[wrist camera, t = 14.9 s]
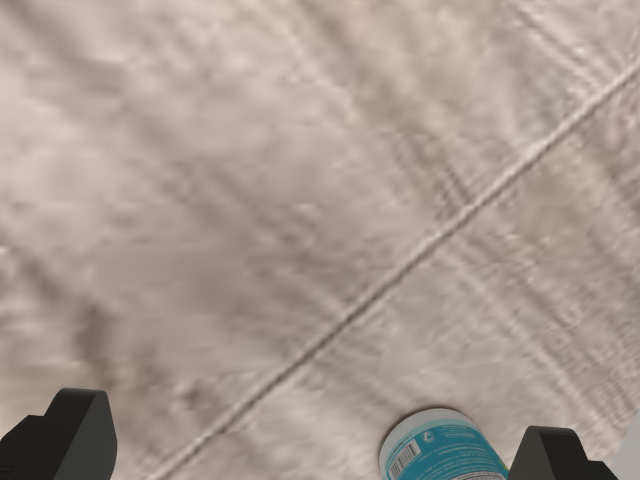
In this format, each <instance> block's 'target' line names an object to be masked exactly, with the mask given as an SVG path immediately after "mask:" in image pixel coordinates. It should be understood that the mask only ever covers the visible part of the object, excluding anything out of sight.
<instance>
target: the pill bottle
mask: <svg viewBox="0 0 640 480" xmlns="http://www.w3.org/2000/svg"><path fill="white" fill-rule="evenodd" d="M379 470H380V475H381V478H382V480H507V479H508V474H509V470H508V469H507V467H506V466H505V465H504V463H503V462H502V460H501V459H500V458H499V456H498V455H497V453H496V452H495V451H494V449H493V448H492V447H491V445H490V444H489V442H488V441H487V439H486V438H485V437H484V435H483V434H482V433H481V431H480V430H479V429H478V427H477V426H476V425H475V424H474V422H473V421H472V420H470V419H469V418H468V417H467V416H465V415H463V414H461V413H459V412H457V411H454V410H450V409H441V408H439V409H429V410H425V411H421V412H418V413H416V414H414V415H412V416H410V417H408V418H406V419H405V420H403V421H402V422H401V423H399V424H398V425H397V426H396V427H395V428H394V429H393V430H392V431H391V433H390V434H389V435H388V437H387V438H386V440H385V442H384V444H383V446H382V449H381V452H380V457H379Z"/></svg>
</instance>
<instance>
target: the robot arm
mask: <svg viewBox="0 0 640 480" xmlns="http://www.w3.org/2000/svg"><path fill="white" fill-rule="evenodd" d="M116 456H117V438H116V433H115V429H114V424H113V420H112V415H111V410H110V406H109V401H108V397H107V394H106V392H105V391H102V390H89V389H76V388H63V389H61V390H60V391H59V392H58V393H57V394H56V396H55V397H54V399H53V401H52V402H51V404H50V406H49V408H48V409H47V411H46V413H45V415H44V416H36V415H28V416H27V417H26V418H24V419H23V420H22V421H21V422H20V423H19V424H18V425H16V426H15V427H14V428H13V429H12V430H11V431H9V432H8V433H7V434H6V435H5V436H4V437H3V438H2V439H1V441H0V480H110V478H111V475H112V473H113V470H114V466H115V462H116ZM507 480H618V478H617V477H616V476H615V475H614V474H613V473H612V472H611V470H610V469H609V468H608V467H607V466H606V465H605V463H604V462H603V461H590V460H588V459H587V456H586V454H585V452H584V449H583V447H582V444H581V442H580V440H579V438H578V436H577V434H576V433H575V432H574V430H572V429H569V428H557V427H544V426H529V427H528V428H527V429H526V431H525V434H524V436H523V439H522V441H521V444H520V446H519V449H518V451H517V454H516V456H515V459H514V461H513V464H512V466H511V468H510V471H509V474H508V479H507Z"/></svg>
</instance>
